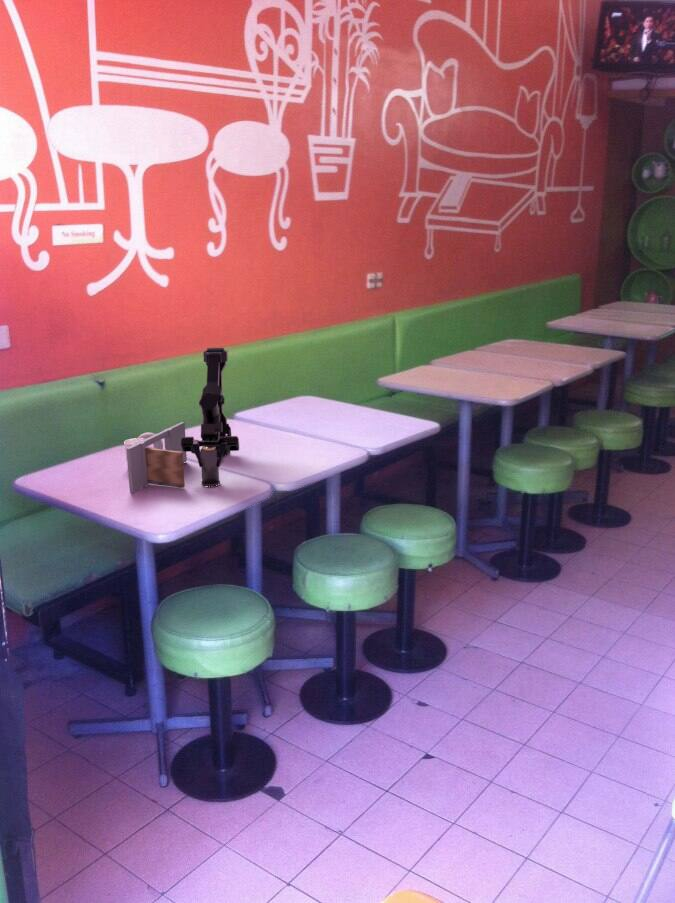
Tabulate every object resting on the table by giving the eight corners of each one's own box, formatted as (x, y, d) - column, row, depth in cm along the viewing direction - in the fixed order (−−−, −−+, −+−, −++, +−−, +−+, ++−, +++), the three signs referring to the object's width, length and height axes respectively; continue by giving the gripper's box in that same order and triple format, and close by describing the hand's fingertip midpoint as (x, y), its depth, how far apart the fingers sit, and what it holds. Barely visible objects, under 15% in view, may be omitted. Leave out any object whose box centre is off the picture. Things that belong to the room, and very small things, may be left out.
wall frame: (182, 462, 306) (180, 421, 301) (188, 462, 305) (186, 422, 300) (128, 492, 275) (124, 448, 271) (134, 493, 274) (131, 448, 270)
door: (145, 483, 282) (142, 448, 278) (147, 482, 283) (145, 447, 280) (182, 488, 277) (180, 452, 274) (184, 487, 278) (182, 451, 275)
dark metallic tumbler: (207, 480, 286) (205, 443, 282) (223, 482, 284) (221, 445, 280) (198, 486, 281) (196, 448, 277) (214, 488, 279) (212, 450, 275)
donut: (135, 460, 307) (133, 434, 304) (136, 458, 310) (134, 431, 307) (163, 460, 308) (161, 433, 305) (164, 457, 311) (162, 430, 308)
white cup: (152, 469, 297) (150, 442, 295) (131, 473, 293) (128, 445, 290) (144, 463, 304) (142, 436, 301) (122, 467, 299) (120, 440, 297)
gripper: (179, 413, 279) (177, 455, 272) (237, 412, 280) (236, 454, 272) (184, 430, 289) (181, 471, 281) (239, 429, 289) (238, 470, 282)
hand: (209, 466), depth 279 cm, fingers closed on dark metallic tumbler, 6 cm apart
